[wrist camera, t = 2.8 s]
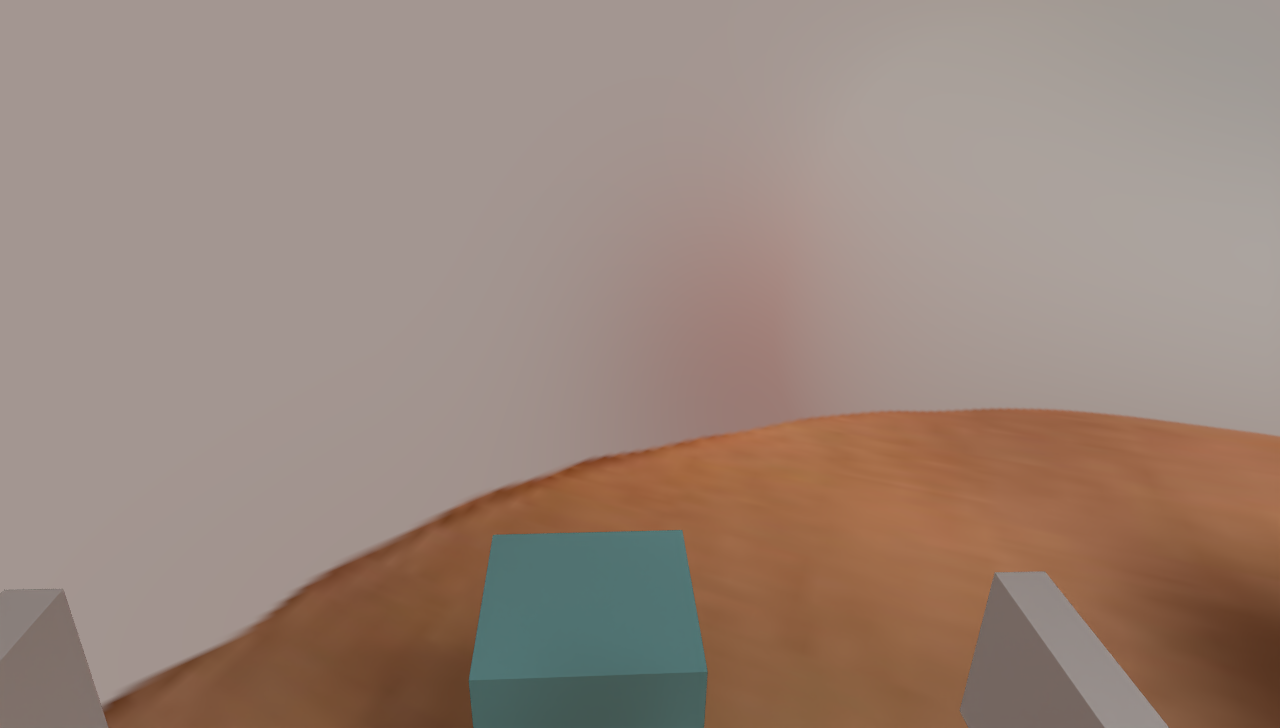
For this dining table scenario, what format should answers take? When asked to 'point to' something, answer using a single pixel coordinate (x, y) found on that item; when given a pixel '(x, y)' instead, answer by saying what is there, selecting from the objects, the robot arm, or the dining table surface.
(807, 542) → the dining table surface
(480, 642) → the teal rectangular prism
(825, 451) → the dining table surface
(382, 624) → the dining table surface
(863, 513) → the dining table surface
